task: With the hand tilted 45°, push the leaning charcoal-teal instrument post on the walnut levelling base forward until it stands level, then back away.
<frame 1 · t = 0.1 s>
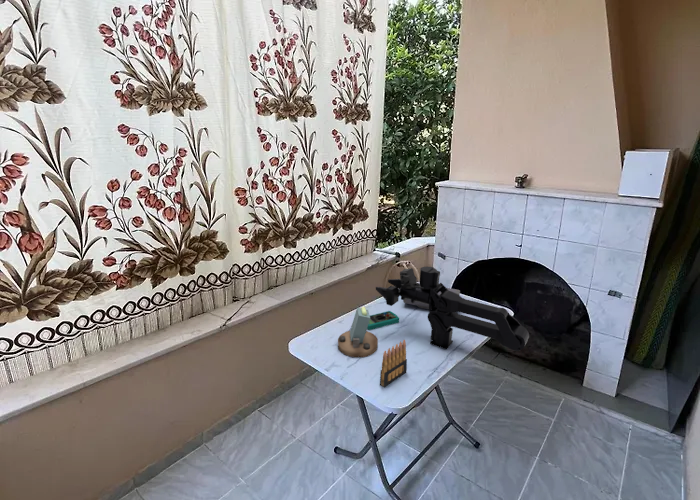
hand: (382, 284, 145), 17 cm above the table, tool horizontal, fingers open, 9 cm apart
levelling base: (355, 346, 134), on the table
digital multimeter: (379, 323, 150), on the table
ammunition clip: (393, 379, 117), on the table
instrument post: (360, 323, 131), point 9 cm above the table, hinge at -15.0°
bluetooth speaker: (430, 308, 163), on the table
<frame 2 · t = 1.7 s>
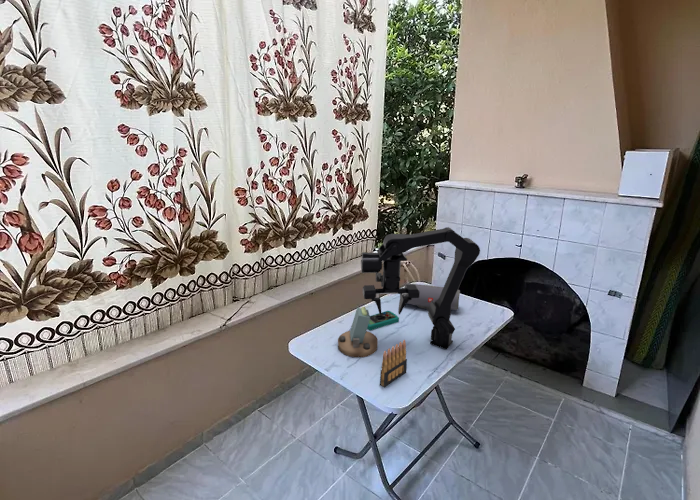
hand: (389, 314, 131), 12 cm above the table, tool pointing down, fingers open, 6 cm apart
nothing on the table moved.
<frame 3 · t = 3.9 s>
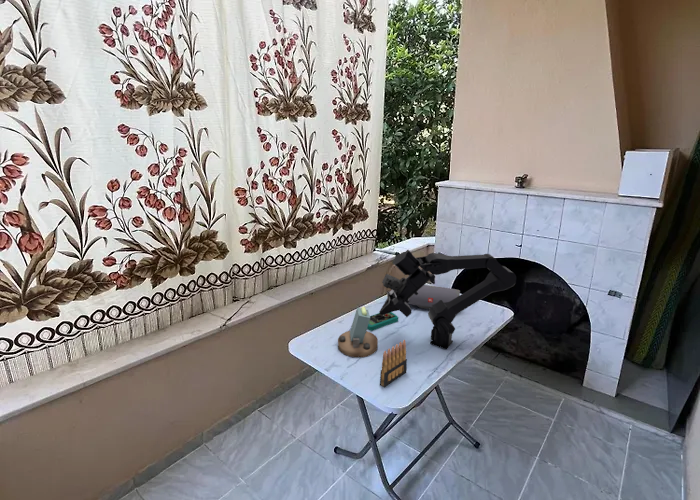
hand: (380, 313, 130), 13 cm above the table, tool tilted 45°, fingers closed
nothing on the table moved.
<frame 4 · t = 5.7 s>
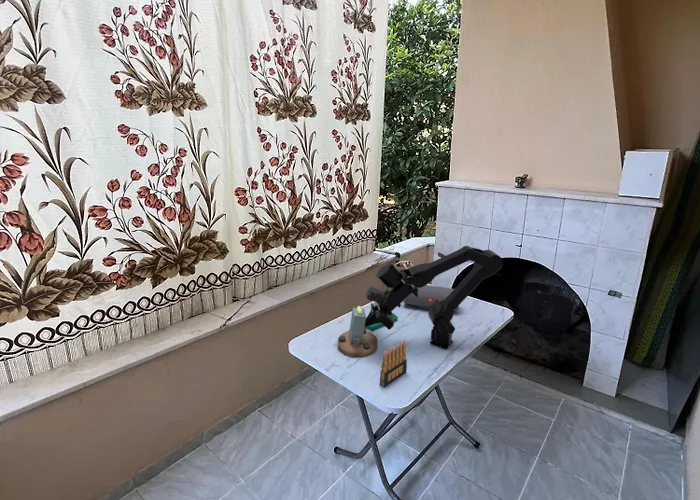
hand: (363, 325, 131), 8 cm above the table, tool tilted 45°, fingers closed, pressing on instrument post
instrument post: (357, 323, 131), point 9 cm above the table, hinge at -7.0°, touching gripper
everything else where it was.
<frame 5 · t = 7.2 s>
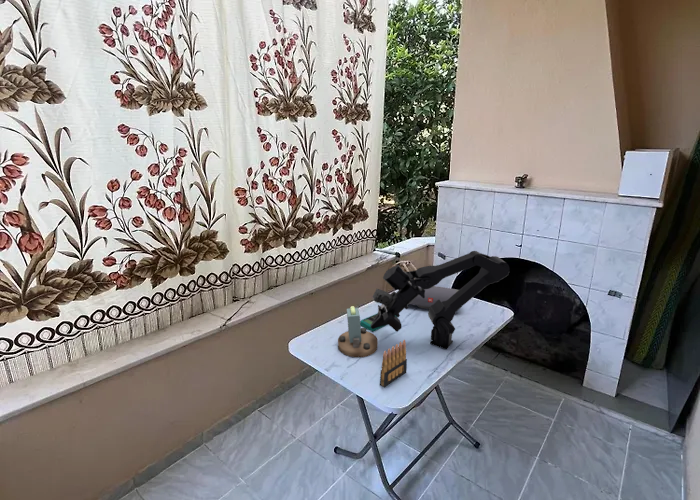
hand: (371, 327, 132), 7 cm above the table, tool tilted 45°, fingers closed
instrument post: (353, 323, 131), point 9 cm above the table, hinge at 4.1°
everything else where it was.
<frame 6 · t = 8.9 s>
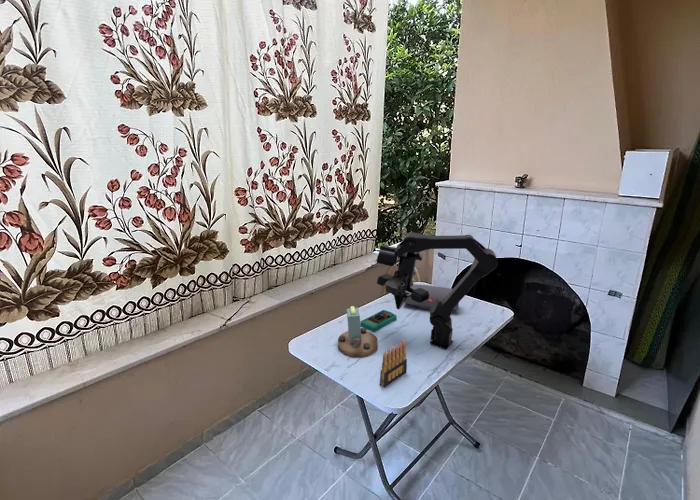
hand: (398, 308, 136), 12 cm above the table, tool pointing down, fingers closed
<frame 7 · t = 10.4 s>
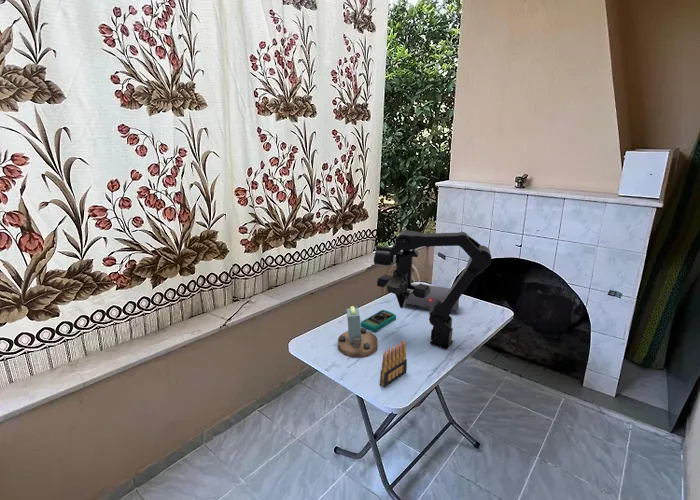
hand: (401, 307, 136), 12 cm above the table, tool pointing down, fingers closed
at the end: instrument post at +4° (first picture: -15°); ammunition clip moved 0.3 cm from its start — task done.
